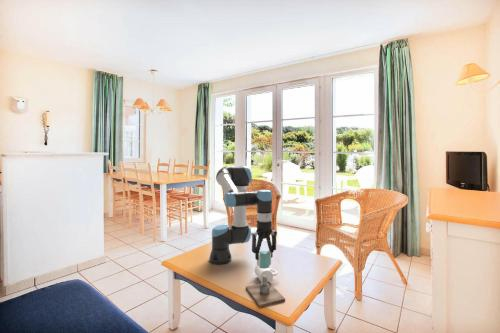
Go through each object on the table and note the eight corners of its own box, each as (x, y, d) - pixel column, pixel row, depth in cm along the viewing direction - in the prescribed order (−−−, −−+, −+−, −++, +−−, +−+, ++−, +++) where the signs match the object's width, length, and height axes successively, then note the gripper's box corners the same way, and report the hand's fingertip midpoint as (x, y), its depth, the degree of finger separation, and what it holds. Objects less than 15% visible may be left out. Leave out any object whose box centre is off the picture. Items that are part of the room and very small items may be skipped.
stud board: (245, 288, 137) (246, 271, 136) (269, 283, 142) (269, 267, 142) (259, 307, 120) (259, 287, 120) (285, 301, 125) (285, 282, 125)
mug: (259, 285, 141) (259, 271, 140) (254, 276, 150) (254, 263, 150) (279, 282, 144) (279, 268, 143) (273, 274, 153) (273, 261, 153)
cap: (257, 264, 132) (257, 251, 131) (266, 263, 134) (266, 250, 133) (261, 269, 127) (261, 255, 126) (271, 267, 128) (271, 254, 128)
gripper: (250, 223, 122) (250, 270, 123) (283, 220, 129) (283, 264, 130) (244, 220, 129) (244, 264, 130) (276, 217, 136) (276, 259, 137)
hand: (263, 264), depth 130 cm, fingers closed on cap, 5 cm apart
